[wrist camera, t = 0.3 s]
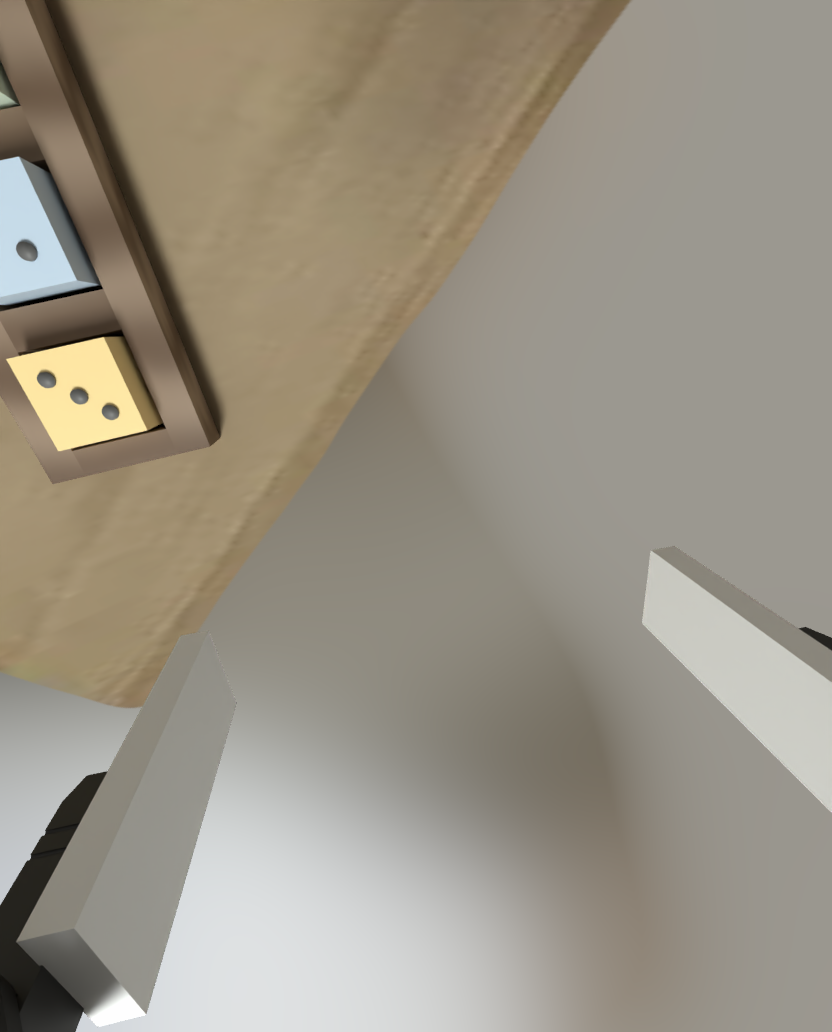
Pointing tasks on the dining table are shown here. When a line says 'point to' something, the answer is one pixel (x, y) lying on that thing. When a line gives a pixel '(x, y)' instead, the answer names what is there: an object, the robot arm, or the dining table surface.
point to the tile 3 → (87, 391)
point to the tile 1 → (6, 91)
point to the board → (112, 251)
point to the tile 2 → (37, 237)
